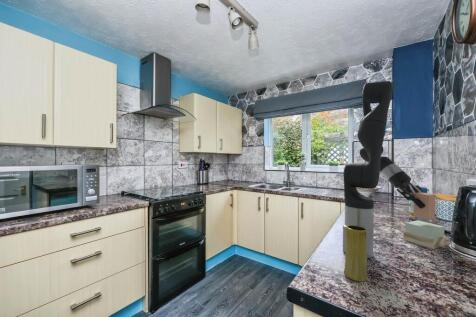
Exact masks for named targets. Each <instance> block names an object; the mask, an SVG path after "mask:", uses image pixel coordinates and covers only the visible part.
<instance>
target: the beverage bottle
mask: <svg viewBox="0 0 476 317" xmlns="http://www.w3.org/2000/svg"><path fill="white" fill-rule="evenodd" d="M420 187H421V189H422V190H423V191H424V192H425V193H428V188H427V187H424V186H420ZM408 207H409V208H408V218H409V219H408V222H411V221H423V222H427V223H430V220H427V219H423V218H419V217H414V202H413V201H411V200H409V202H408Z"/></svg>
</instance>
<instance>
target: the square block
mask: <svg viewBox="0 0 476 317" xmlns="http://www.w3.org/2000/svg"><path fill="white" fill-rule="evenodd" d="M414 194H415V195H416V196H417V197H418V198H419V199H420V200H421V201H422V202H423V203H424V204H425V207H424V208H419V207H418V206H417V205H416V204H415V203H414V217H419V218H423V219H427V220H429V221H431V220H434V219H436V194H435V193H428V192H427V193H414ZM418 198H417V199H418Z"/></svg>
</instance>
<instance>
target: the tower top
mask: <svg viewBox="0 0 476 317" xmlns="http://www.w3.org/2000/svg"><path fill="white" fill-rule="evenodd" d="M404 228H405V229H404V231H405V232H408V233H411V234H415V235H418V236H421V237H425V238H428V239H435V238H440V237H444V236H445V226H443V225H439V224H435V223H430V222H429V223H427V222H423V221H411V222H409V221H406V222H405V223H404Z"/></svg>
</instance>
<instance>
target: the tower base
mask: <svg viewBox="0 0 476 317" xmlns="http://www.w3.org/2000/svg"><path fill="white" fill-rule="evenodd" d="M402 232H403V236H402V238H403V241H406V242H409V243H412V244H415V245H418V246H422V247H426V248H428V249H431V250H434V249H437V248H440V247H445V246H446V245H447V236H446V235H444V237H440V238H435V239H428V238H425V237H421V236H418V235H415V234H411V233H408V232H405V230H404V231H402Z"/></svg>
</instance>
